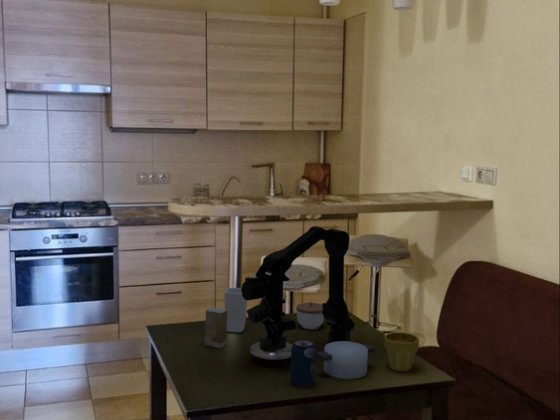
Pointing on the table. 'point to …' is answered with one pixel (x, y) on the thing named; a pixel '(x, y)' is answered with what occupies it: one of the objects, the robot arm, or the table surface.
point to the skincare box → (216, 327)
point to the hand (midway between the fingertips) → (272, 344)
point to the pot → (345, 359)
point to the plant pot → (401, 350)
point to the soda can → (303, 363)
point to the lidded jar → (310, 315)
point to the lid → (271, 349)
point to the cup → (235, 310)
